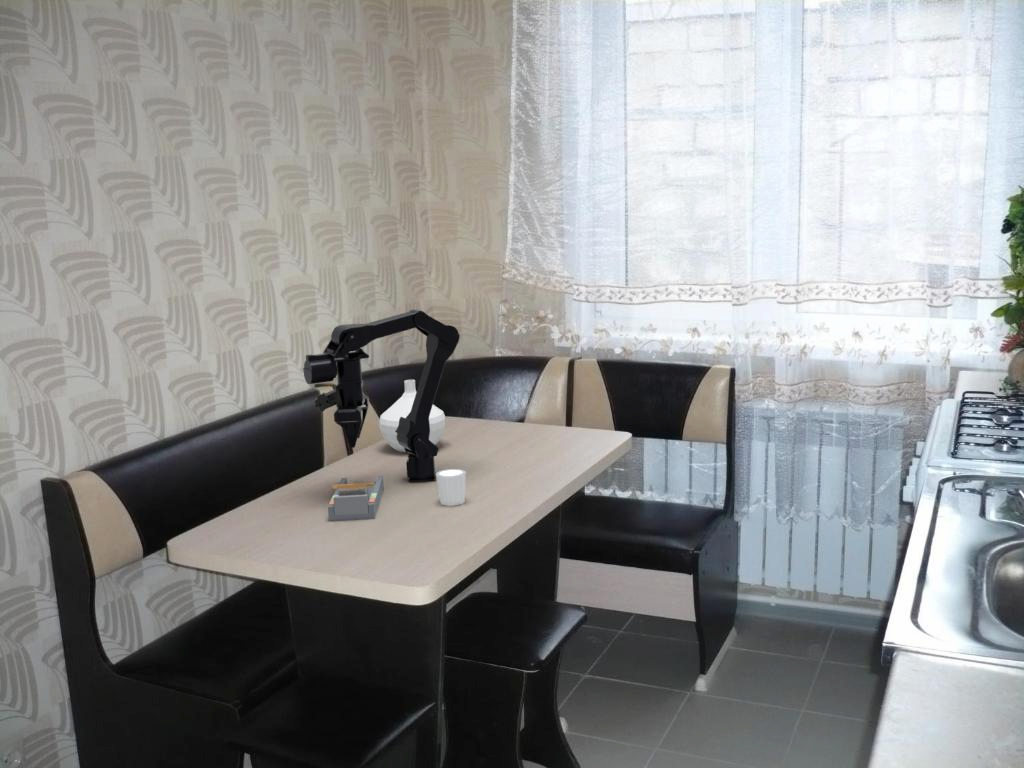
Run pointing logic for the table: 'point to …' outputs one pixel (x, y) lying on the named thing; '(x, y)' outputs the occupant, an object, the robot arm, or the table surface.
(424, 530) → the table surface
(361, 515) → the track
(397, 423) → the vase
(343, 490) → the gauge sled
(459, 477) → the shot glass
